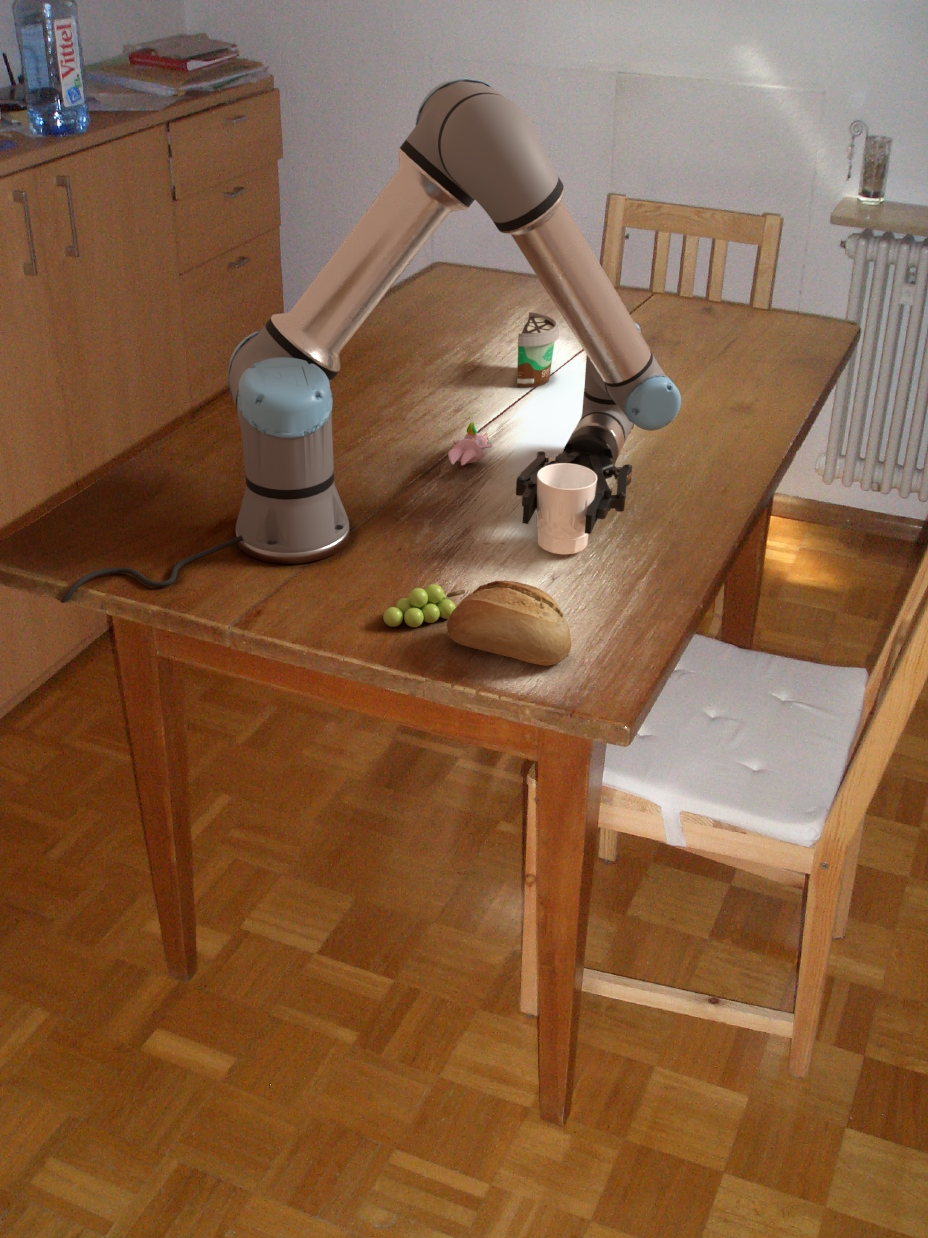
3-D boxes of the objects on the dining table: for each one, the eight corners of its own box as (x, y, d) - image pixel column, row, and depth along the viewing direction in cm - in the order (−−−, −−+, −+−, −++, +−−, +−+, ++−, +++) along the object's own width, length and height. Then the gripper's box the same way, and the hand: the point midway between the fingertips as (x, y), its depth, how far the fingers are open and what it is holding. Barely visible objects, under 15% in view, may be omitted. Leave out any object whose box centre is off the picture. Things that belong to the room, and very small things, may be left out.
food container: (550, 393, 217) (554, 337, 212) (515, 390, 218) (518, 334, 212) (560, 368, 227) (564, 313, 222) (526, 364, 228) (529, 310, 223)
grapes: (392, 637, 152) (392, 607, 149) (376, 618, 155) (375, 588, 153) (473, 615, 156) (474, 586, 154) (455, 597, 160) (456, 568, 157)
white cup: (593, 558, 168) (599, 490, 162) (533, 556, 168) (538, 488, 162) (589, 529, 174) (595, 463, 169) (532, 528, 174) (536, 462, 169)
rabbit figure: (459, 447, 201) (436, 472, 187) (461, 410, 198) (438, 433, 185) (497, 452, 200) (477, 478, 186) (500, 415, 197) (479, 438, 184)
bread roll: (460, 617, 156) (461, 561, 151) (579, 638, 152) (584, 581, 148) (436, 659, 148) (437, 601, 144) (561, 682, 144) (565, 623, 140)
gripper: (660, 483, 182) (632, 557, 163) (522, 462, 187) (479, 532, 168) (666, 435, 178) (637, 505, 159) (525, 415, 183) (481, 481, 164)
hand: (556, 519), depth 164 cm, fingers closed on white cup, 8 cm apart
